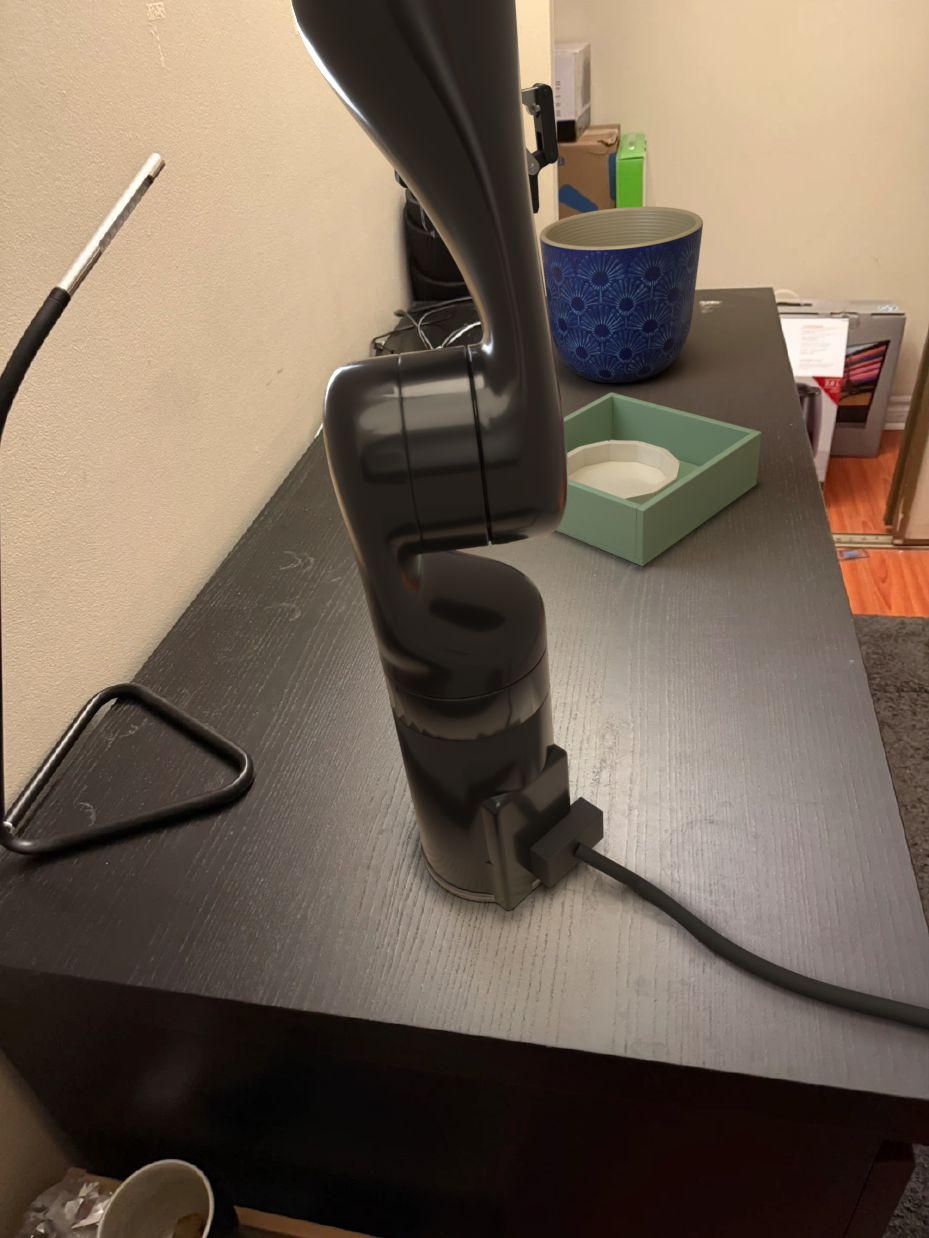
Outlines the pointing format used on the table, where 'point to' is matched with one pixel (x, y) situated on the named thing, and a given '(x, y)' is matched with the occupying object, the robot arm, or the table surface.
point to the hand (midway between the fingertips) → (482, 228)
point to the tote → (708, 482)
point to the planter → (621, 289)
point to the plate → (624, 468)
